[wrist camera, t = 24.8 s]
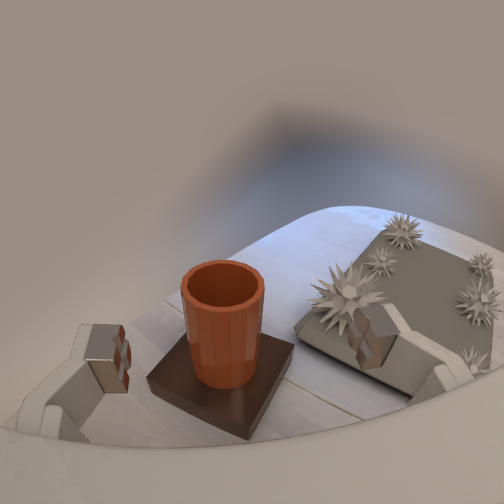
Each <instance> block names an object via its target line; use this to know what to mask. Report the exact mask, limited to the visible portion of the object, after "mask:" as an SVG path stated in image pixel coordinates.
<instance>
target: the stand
mask: <svg viewBox="0 0 504 504" xmlns="http://www.w3.org/2000/svg"><path fill="white" fill-rule="evenodd" d="M293 350H294V344H292V343H289V342H286V341H283V340H280V339H277V338H274V337H272V336H269V335H266V334H263V333H261V336H260V347H259V358H258V364H257V370H256V372H255V374H254V376H253V377H252V378H251V379H250V380H249V381H248V382H247V383H245V384H244V385H242V386H239V387H236V388H232V389H218V388H213V387H210V386H208V385H206V384H204V383H203V382H202V381H200V380H199V379H198V378H197V376H196V375H195V373H194V371H193V368H192V363H191V359H190V353H189V346H188V339H187V333H185V334H184V335H183V336H182V337H181V339H180V340H179V341H178V342H177V343H176V344H175V345H174V346H173V348H172V349H171V350H170V351H169V352H168V353H167V354H166V355H165V357H164V358H163V359H162V360H161V361H160V362H159V363H158V364H157V365H156V367H155V368H154V369H153V370H152V371H151V372H150V373H149V374H148V376H147V377H146V378H147V381H148V384H149V386H150V389H151V392H152V393H153V394H154V395H156V396H158V397H160V398H161V399H163V400H165V401H167V402H169V403H170V404H172V405H174V406H176V407H178V408H180V409H182V410H184V411H185V412H187V413H189V414H191V415H193V416H195V417H197V418H199V419H201V420H203V421H205V422H207V423H209V424H211V425H214V426H216V427H218V428H220V429H222V430H224V431H227V432H229V433H231V434H233V435H236V436H238V437H240V438H243V439H245V440H247V441H249V439H250V438H251V436H252V434H253V432H254V430H255V429H256V427H257V425H258V423H259V422H260V420H261V418H262V416H263V414H264V412H265V411H266V409H267V407H268V405H269V403H270V401H271V399H272V398H273V396H274V394H275V392H276V390H277V388H278V386H279V384H280V382H281V380H282V378H283V376H284V374H285V372H286V370H287V368H288V366H289V364H290V362H291V359H292V354H293Z"/></svg>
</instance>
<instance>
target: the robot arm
mask: <svg viewBox="0 0 504 504" xmlns="http://www.w3.org/2000/svg"><path fill="white" fill-rule="evenodd" d="M352 316H353V318H354V321H353V322H352V323H351V324H349V327H348V331H347V338H348V342H349V345H350V347H351V349H353V350H354V351H356V352H357V354H356V359H357V361H358V364H359V366H360V368H361V370H362V371H363V370H368V369H373V368H378V367H381V368H382V369H383V370H384V371H385V372H387V373H388V374H389V375H390V376H392V377H393V378H394V379H395V380H397V381H398V382H399V383H400V384H402V385H403V386H404V387H405V388H407V389H408V390H409V391H410V392H412V393H413V394H414V396H413V398H412V399H411V400H410V401H409V403H408V405H407V406H408V407H406V408H403V409H400V410H397V411H394V412H391V413H388V414H385V415H381V416H378V417H375V418H371V419H368V420H364V421H361V422H357V423H353V424H349V425H345V426H341V427H337V428H333V429H328V430H324V431H319V432H315V433H310V434H304V435H299V436H293V437H288V438H282V439H275V440H268V441H261V442H253V443H244V444H234V445H223V446H208V447H184V448H149V447H125V446H111V445H99V444H90V441H89V440H88V439H87V438H86V437H85V435H84V434H83V433H82V432H81V431H80V430H79V429H80V428H81V426H82V425H83V424H84V422H85V421H86V419H87V418H88V417H89V415H90V414H91V413H92V411H93V410H94V409H95V407H96V406H97V405H98V403H99V402H100V401H101V399H102V398H103V396H104V395H105V394H104V393H128V384H129V376H128V373H127V370H128V369H129V368H130V367H131V351H130V346H129V342H128V341H127V340H126V339H124V338H125V330H124V327H123V326H122V325H107V324H81V325H80V326H79V329H78V332H77V335H76V338H75V341H74V344H73V348H72V351H71V355H70V358H69V360H65V361H64V362H62V363H61V365H59V366H58V367H57V368H56V369H55V370H54V371H53V372H52V373H51V374H50V375H49V376H48V377H46V378H45V379H44V380H43V381H42V382H41V383H40V384H39V385H38V386H37V387H36V388H35V389H34V390H33V391H32V392H31V393H30V394H29V395H28V396H27V397H26V398H24V400H23V403H22V407H21V410H20V414H19V418H18V422H17V426H16V430H12V429H8V428H4V427H0V504H504V365H502V366H500V367H498V368H496V369H494V370H492V371H491V372H489V373H487V374H485V375H483V376H481V377H478V378H476V379H475V377H474V376H473V374H472V373H471V371H470V370H469V368H468V367H467V365H466V364H465V362H464V361H463V359H462V358H461V357H460V356H459V355H457V354H455V353H453V352H452V351H450V350H448V349H446V348H445V347H443V346H441V345H440V344H438V343H436V342H434V341H433V340H431V339H429V338H427V337H426V336H424V335H422V334H420V333H419V332H417V331H412V330H411V329H410V327H409V326H408V324H407V323H406V321H405V320H404V318H403V317H402V315H401V314H400V313H399V311H398V310H397V308H396V307H395V305H394V304H392V303H386V304H380V305H374V306H367V307H360V308H356V309H355V310H354V313H353V315H352Z"/></svg>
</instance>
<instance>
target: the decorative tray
mask: <svg viewBox="0 0 504 504" xmlns="http://www.w3.org/2000/svg"><path fill="white" fill-rule="evenodd" d="M409 215H410V214H409ZM395 216H396V214H395ZM395 216H394V219H395V222H396V223H395V222H394V221H393V220H392V219H391V220H392V222H393V224H392V223H390V222H389V221H388V222H389V224H390V226H389V225H387V226H388V227H387V226H384V225H383V226H384V227H386V228H387V229H385V230H383V231H381V232H380V233H379V234H378V236H377V237H376V238H375V239H374V240H373V241H372V243H371V244H370V245H369V246H368V247H367V248H366V250H365V251H364V252H363V253H362V254H361V255H360V256H359V258H358V259H357V260H356V261H355V262H354V263H353V264H352V262H351V265H350V268H349V269H348V270H347V271H346V272H345V273H344V274H343V273H342V271H341V269H339V267H338V265H337V263H336V267H337V271H338V276H339V280H338V279H337V277H336V276H335V274H334V273H333V271H332V270H331V268H330V267H329V268H330V272H331V275H332V278H333V282H334V284H333V286H332V285H330V284H328V283H326V282H324V281H321V280H319V279H317V278H316V279H317V280H318V281H319V282H321V283H322V284H323V285H324V286H325V287H326V288H327V289H328V290H329V291H328V290H325V289H322V288H320V287H317V286H314V285H312V284H311V285H312V286H313V287H315V288H316V289H317V290H319V291H320V292H319V293H321V294H322V295H324V296H323V297H322V298H320V299H313V300H307V301H311V302H317V304H313V305H315V306H313V308H312V309H311V310H310V311H308V313H307V314H306V315H305V316H304V317H303V318H302V319H301V320H300V321H299V322H298V323H297V324H296V325H295V326H294V329H295V332H296V335H297V337H298V339H300V340H302V341H304V342H306V343H308V344H310V345H311V346H313V347H315V348H317V349H319V350H321V351H323V352H325V353H326V354H328V355H330V356H332V357H334V358H336V359H338V360H340V361H342V362H344V363H346V364H348V365H350V366H352V367H354V368H356V369H358V370H360V371H361V372H363V373H365V374H367V375H369V376H371V377H374V378H376V379H378V380H380V381H382V382H384V383H386V384H388V385H390V386H392V387H394V388H396V389H398V390H400V391H402V392H404V393H407V394H409V395H411V396H414V394H413V393H412V392H410V391H409V390H408V389H407V388H405V387H404V386H403V385H402V384H400V383H399V382H398V381H397V380H395V379H394V378H393V377H392V376H390V375H389V374H388V373H387V372H385V371H384V370H383V369H382V368H381V367H378V368H373V369H368V370H363V371H362V370H361V368H360V366H359V364H358V361H357V359H356V354H357V352H356V351H354V350H353V349H351V347H350V345H349V342H348V338H347V331H348V327H349V324H351V323H352V322H353V321H354V318H353V316H352V315H353V313H354V310H355V309H356V308H360V307H367V306H374V305H380V304H386V303H392V304H394V305H395V307H396V308H397V310H398V311H399V313H400V314H401V315H402V317H403V318H404V320H405V321H406V323H407V324H408V326H409V327H410V329H411V330H412V331H417V332H419V333H420V334H422V335H424V336H426V337H427V338H429V339H431V340H433V341H434V342H436V343H438V344H440V345H441V346H443V347H445V348H446V349H448V350H450V351H452V352H453V353H455V354H457V355H459V356H460V357H461V358H462V359H463V361H464V362H465V364H466V365H467V367H468V368H469V370H470V371H471V373H472V374H473V376H474V377H475V379H476V378H478V377H481V376H483V375H485V374H487V373H489V372H491V371H492V370H490V363H491V362H492V361H491V350H492V336H493V318H495V319H497V317H496V316H495V315H497V314H496V313H495V312H494V311H499V312H503V311H501V310H499V309H496V308H494V307H495V306H498V305H501V304H499V303H502V302H503V301H497V300H494V299H495V297H496V296H497V295H498V294H500V293H501V292H502V291H501V292H499V293H497V294H495V293H496V292H497V291H496V292H494V288H495V286H496V285H495V286H493V276H492V273H491V272H492V271H490V270H489V269H494V268H492V267H493V266H491V265H493V264H490V261H491V260H492V259H490V258H489V256H490V255H491V254H490V255H489V256H488V257H487V258H486V255H487V254H486V253H485V255H484V257H483V253H482V251H481V254H480V257H479V254H478V252H477V255H478V258H477V256H476V255H475V256H476V257H475V256H474V257H475V258H474V259H475V260H476V261H475V260H473V259H471V261H472V262H473V263H474V264H473V263H471V262H469V261H466V260H464V259H462V258H460V257H457V256H455V255H453V254H450V253H448V252H446V251H443V250H441V249H439V248H436V247H434V246H431V245H429V244H426V243H424V242H422V241H419V240H417V239H415V238H422V237H420V236H421V234H416V233H418V232H421V231H415V230H414V228H415V227H416V226H417V225H418V224H419V223H418V224H416V223H415V224H414V225H413V223H414V222H415V220H416V219H417V218H416V219H415V220H414V221H413V222H411V223H409V216H407V218H406V220H405V222H404V215H403V216H402V218H401V215H400V221H399V219H398V218H397V216H396V218H395ZM408 223H409V224H408ZM385 225H386V224H385ZM488 258H489V259H490V260H489V259H488ZM494 314H495V315H494ZM497 316H498V315H497ZM497 320H498V319H497ZM490 361H491V362H490Z"/></svg>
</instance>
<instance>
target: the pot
mask: <svg viewBox="0 0 504 504" xmlns="http://www.w3.org/2000/svg"><path fill="white" fill-rule="evenodd" d="M264 291H265V287H264V279H263V278H262V276H261V275H260V274H259V272H258V271H257V270H256V269H254V268H252V267H250V266H249V265H247V264H244V263H240V262H236V261H231V260H215V261H210V262H205V263H202V264H200V265H198V266H196V267H194V268H192V269H190V270H189V271H188V273H187V274H186V275H185V276H184V277H183V279H182V283H181V295H182V303H183V311H184V318H185V326H186V333H187V339H188V346H189V353H190V359H191V363H192V368H193V371H194V373H195V375H196V376H197V378H198V379H199V380H200V381H202V382H203V383H204V384H206V385H208V386H210V387H213V388H218V389H232V388H236V387H239V386H242V385H244V384H245V383H247V382H248V381H249V380H250V379H251V378H252V377H253V376H254V374H255V372H256V370H257V364H258V358H259V347H260V336H261V325H262V314H263V302H264Z"/></svg>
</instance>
